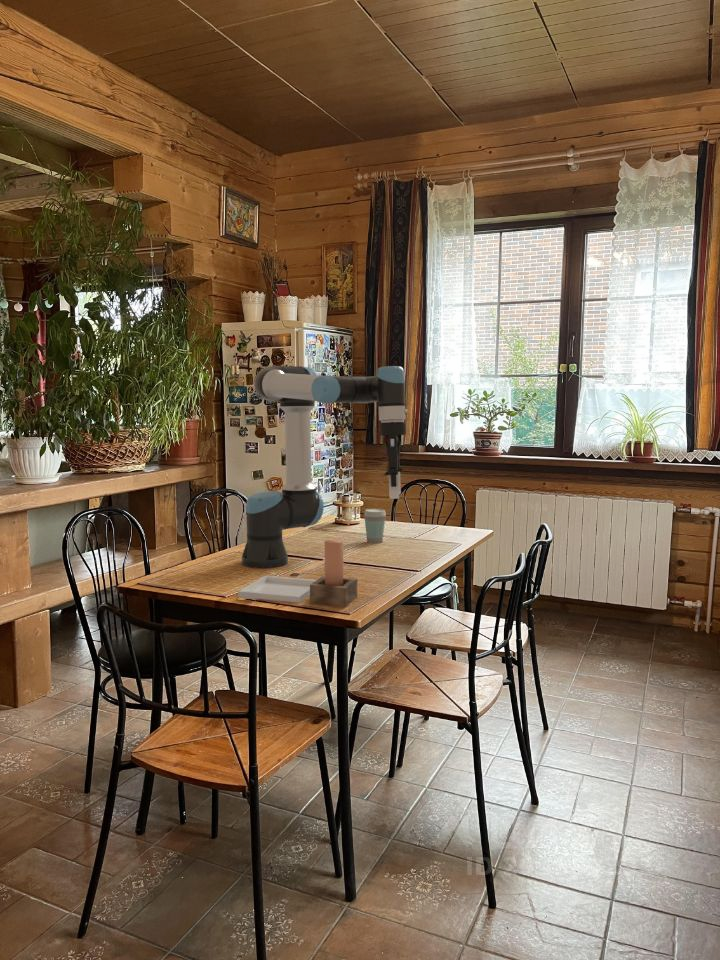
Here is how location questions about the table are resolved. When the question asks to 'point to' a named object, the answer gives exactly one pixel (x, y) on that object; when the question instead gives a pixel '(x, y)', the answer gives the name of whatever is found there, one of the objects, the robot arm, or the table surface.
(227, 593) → the table surface
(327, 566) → the peg
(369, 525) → the coffee cup
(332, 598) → the socket block
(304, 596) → the tray
